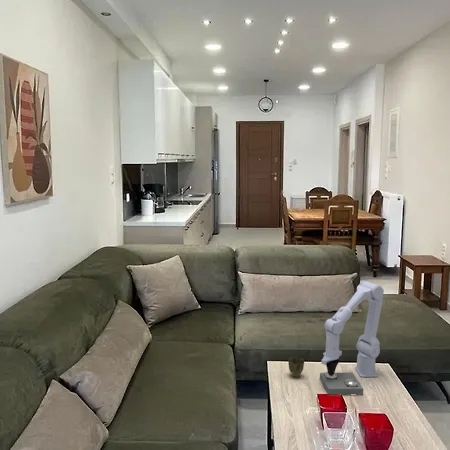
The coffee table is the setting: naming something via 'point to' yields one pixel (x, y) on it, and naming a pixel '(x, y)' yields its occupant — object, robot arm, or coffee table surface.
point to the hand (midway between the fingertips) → (330, 374)
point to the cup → (296, 366)
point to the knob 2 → (350, 383)
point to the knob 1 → (330, 376)
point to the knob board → (341, 384)
